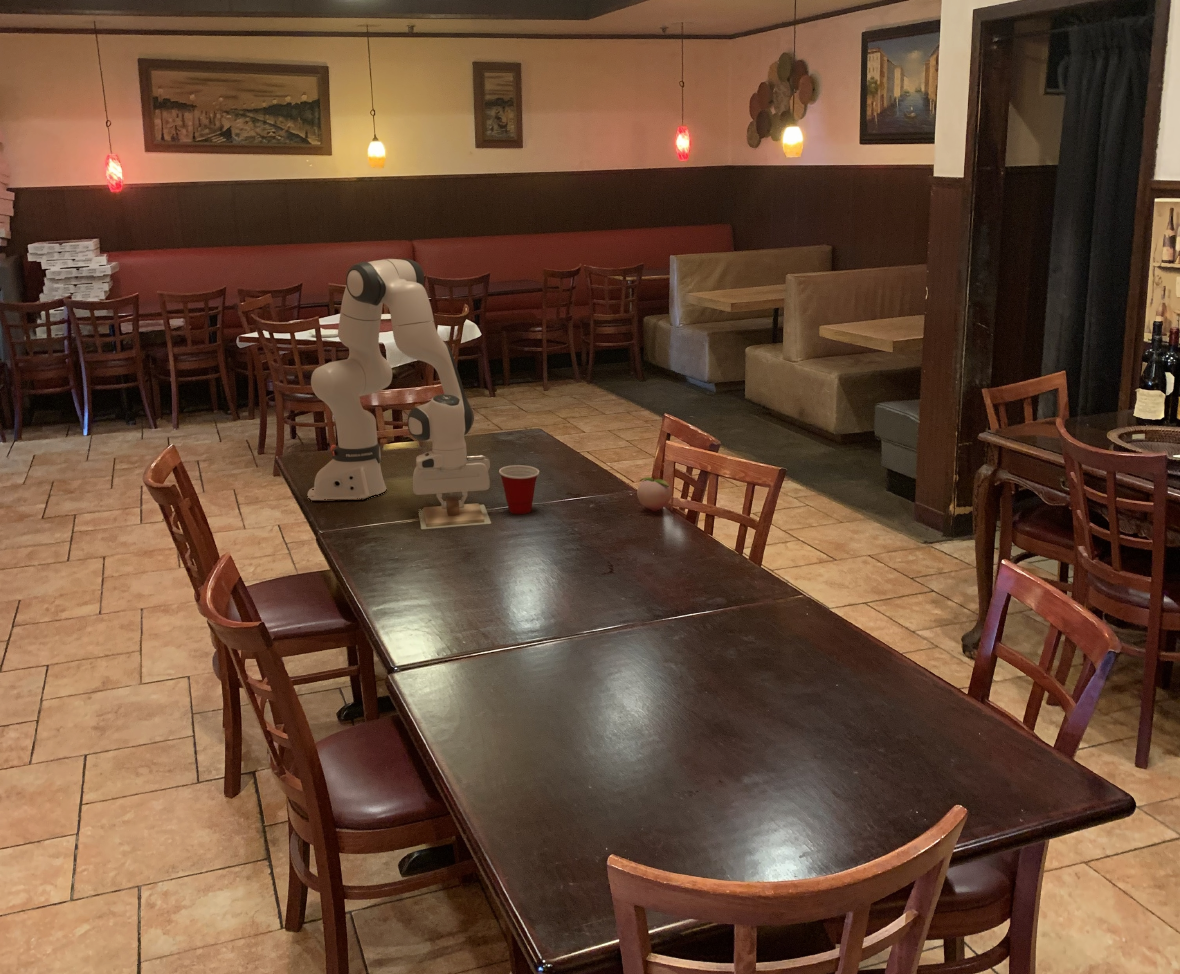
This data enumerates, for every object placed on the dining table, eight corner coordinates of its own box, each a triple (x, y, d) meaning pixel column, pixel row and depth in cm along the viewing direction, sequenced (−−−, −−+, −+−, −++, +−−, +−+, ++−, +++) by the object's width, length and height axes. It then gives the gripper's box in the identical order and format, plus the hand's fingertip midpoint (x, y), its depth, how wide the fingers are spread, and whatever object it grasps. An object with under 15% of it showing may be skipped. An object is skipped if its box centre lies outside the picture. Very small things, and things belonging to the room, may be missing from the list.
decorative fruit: (631, 513, 294) (630, 477, 291) (644, 505, 301) (643, 470, 298) (663, 518, 290) (663, 481, 287) (676, 509, 297) (675, 473, 294)
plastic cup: (523, 521, 290) (521, 476, 287) (492, 514, 296) (490, 471, 293) (549, 510, 298) (547, 467, 295) (518, 504, 305) (517, 462, 302)
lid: (426, 526, 286) (425, 508, 284) (423, 510, 300) (422, 493, 299) (484, 521, 288) (483, 504, 287) (478, 505, 303) (477, 489, 301)
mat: (421, 531, 284) (421, 529, 284) (418, 511, 301) (418, 509, 301) (491, 525, 287) (491, 523, 287) (484, 506, 304) (484, 504, 304)
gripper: (488, 451, 295) (490, 501, 298) (410, 457, 291) (414, 507, 295) (490, 457, 289) (493, 508, 292) (411, 462, 285) (415, 514, 289)
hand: (452, 507), depth 294 cm, fingers closed on lid, 3 cm apart
